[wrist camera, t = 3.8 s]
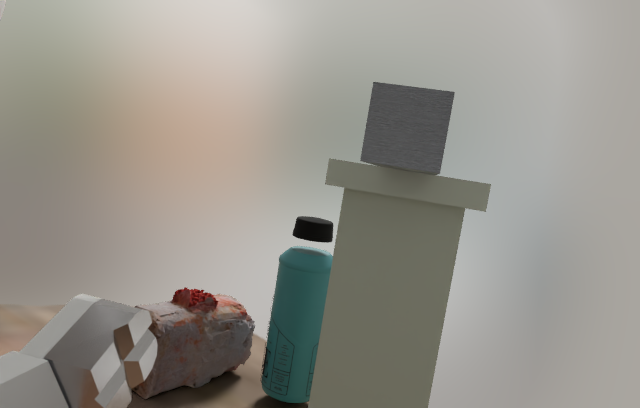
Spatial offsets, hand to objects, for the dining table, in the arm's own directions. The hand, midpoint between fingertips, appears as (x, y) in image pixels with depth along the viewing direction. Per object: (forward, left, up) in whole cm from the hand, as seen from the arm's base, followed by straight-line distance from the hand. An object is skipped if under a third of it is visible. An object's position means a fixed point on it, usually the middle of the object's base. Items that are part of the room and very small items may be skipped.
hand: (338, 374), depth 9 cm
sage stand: (-9, +24, -22) cm, 33 cm away
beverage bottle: (-22, +34, -22) cm, 46 cm away
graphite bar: (-7, +19, +4) cm, 21 cm away
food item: (-33, +30, -22) cm, 50 cm away
